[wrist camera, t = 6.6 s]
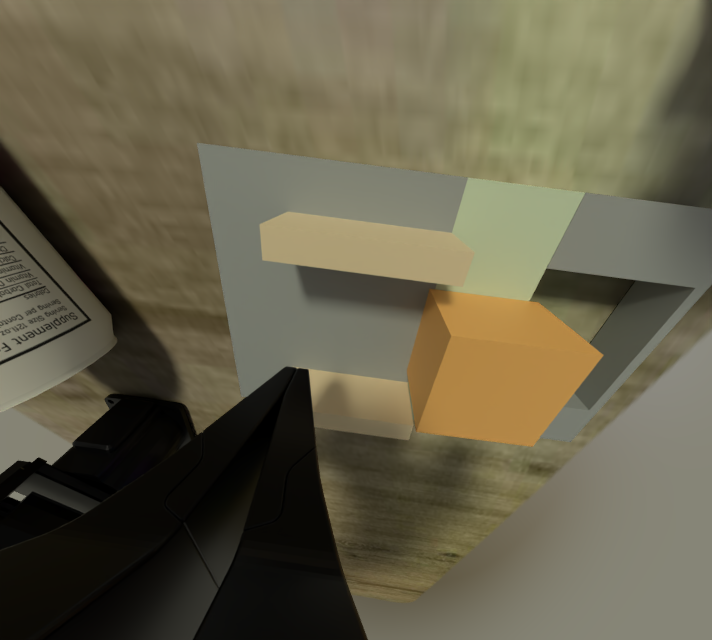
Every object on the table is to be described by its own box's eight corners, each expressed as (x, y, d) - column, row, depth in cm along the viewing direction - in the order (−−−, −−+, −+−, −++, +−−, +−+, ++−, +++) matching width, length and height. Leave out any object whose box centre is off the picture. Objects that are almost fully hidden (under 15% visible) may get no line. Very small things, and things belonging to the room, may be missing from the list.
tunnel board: (548, 411, 19) (605, 491, 14) (256, 370, 19) (216, 436, 14) (700, 208, 12) (918, 233, 7) (229, 147, 12) (131, 132, 7)
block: (495, 382, 15) (532, 446, 11) (406, 370, 15) (416, 431, 11) (538, 302, 12) (603, 355, 9) (429, 288, 12) (451, 335, 9)
